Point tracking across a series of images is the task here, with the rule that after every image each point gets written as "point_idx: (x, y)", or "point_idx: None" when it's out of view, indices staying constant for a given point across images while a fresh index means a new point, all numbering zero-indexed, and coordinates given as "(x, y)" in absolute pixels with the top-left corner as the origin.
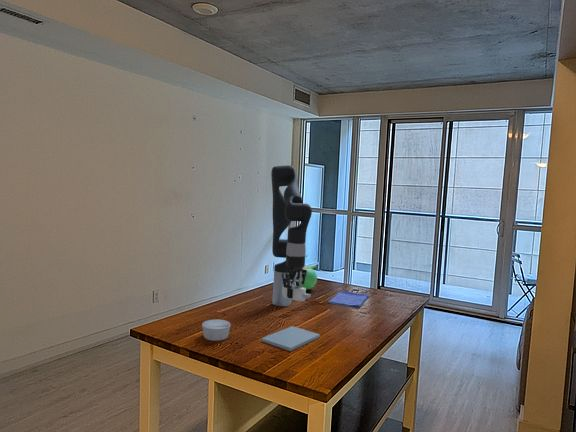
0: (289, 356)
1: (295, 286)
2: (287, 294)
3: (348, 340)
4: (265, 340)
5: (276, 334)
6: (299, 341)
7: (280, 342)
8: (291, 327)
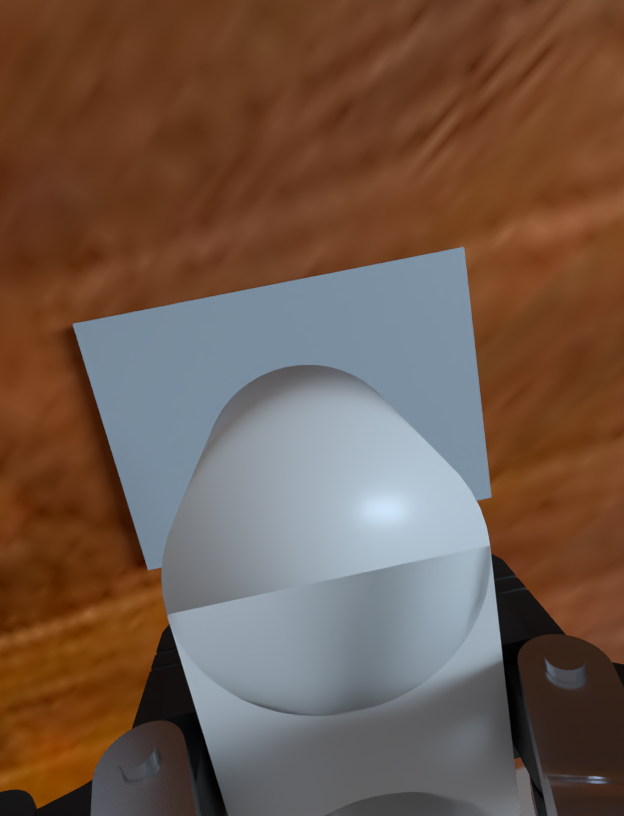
0: (99, 610)
1: (424, 744)
2: (161, 657)
3: (579, 614)
4: (87, 360)
5: (224, 326)
6: None
7: (149, 465)
8: (433, 270)
